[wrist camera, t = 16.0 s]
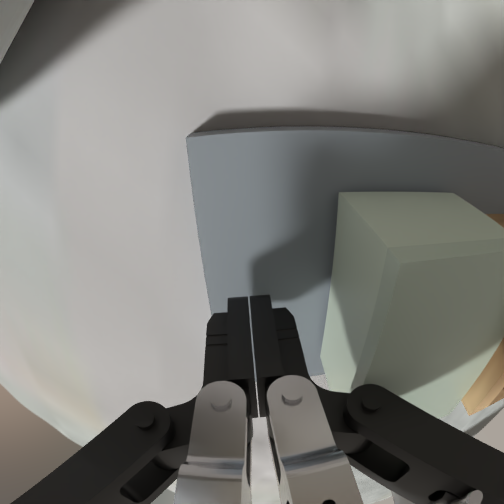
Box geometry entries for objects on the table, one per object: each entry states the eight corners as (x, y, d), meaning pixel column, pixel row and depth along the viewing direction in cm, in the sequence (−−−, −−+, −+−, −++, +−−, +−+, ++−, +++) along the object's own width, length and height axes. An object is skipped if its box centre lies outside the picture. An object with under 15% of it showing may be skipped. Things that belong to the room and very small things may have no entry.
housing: (412, 343, 14) (449, 414, 10) (313, 360, 14) (334, 448, 9) (459, 185, 9) (544, 245, 5) (330, 183, 9) (400, 263, 5)
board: (482, 322, 16) (525, 383, 11) (225, 366, 16) (225, 469, 10) (534, 156, 10) (613, 201, 5) (191, 132, 10) (135, 186, 4)
